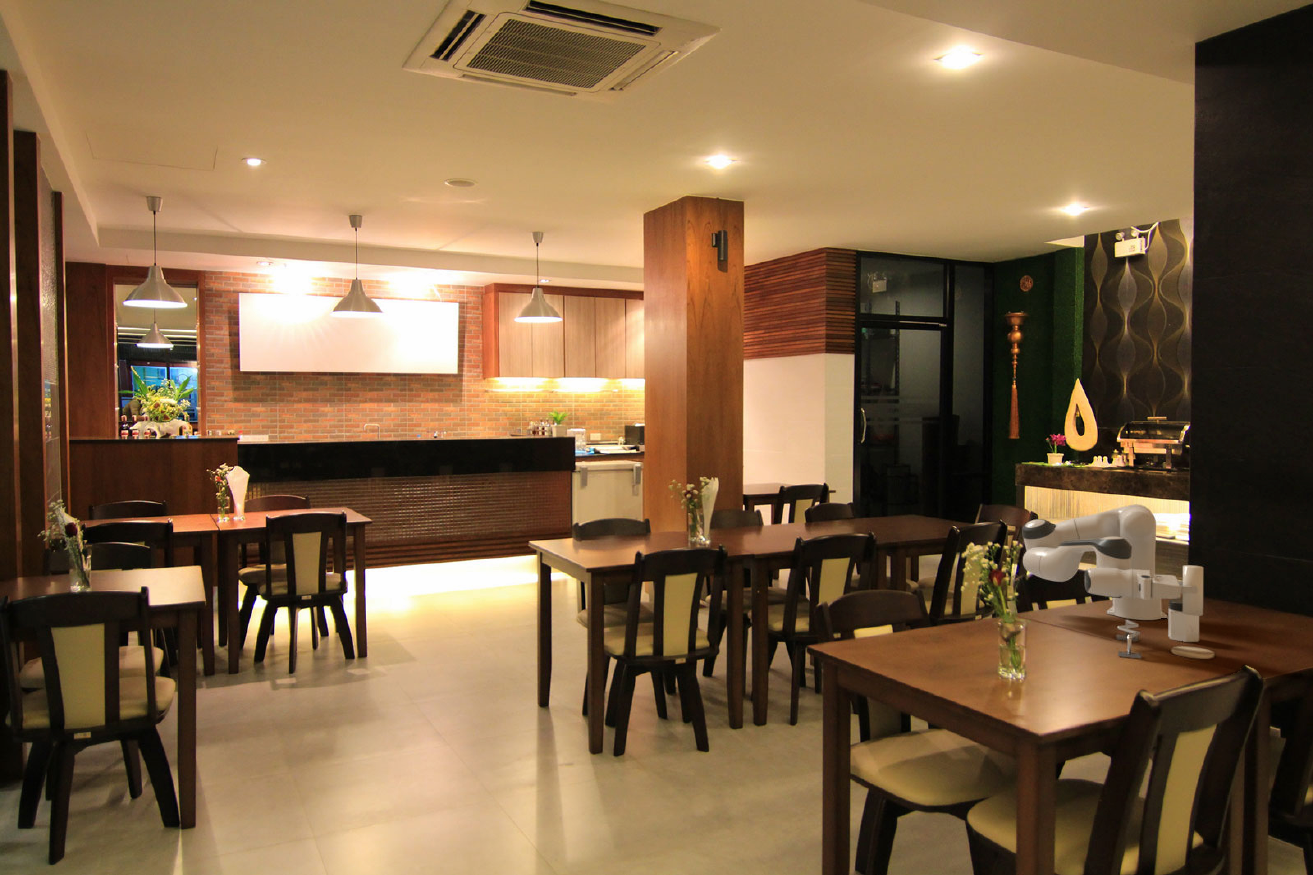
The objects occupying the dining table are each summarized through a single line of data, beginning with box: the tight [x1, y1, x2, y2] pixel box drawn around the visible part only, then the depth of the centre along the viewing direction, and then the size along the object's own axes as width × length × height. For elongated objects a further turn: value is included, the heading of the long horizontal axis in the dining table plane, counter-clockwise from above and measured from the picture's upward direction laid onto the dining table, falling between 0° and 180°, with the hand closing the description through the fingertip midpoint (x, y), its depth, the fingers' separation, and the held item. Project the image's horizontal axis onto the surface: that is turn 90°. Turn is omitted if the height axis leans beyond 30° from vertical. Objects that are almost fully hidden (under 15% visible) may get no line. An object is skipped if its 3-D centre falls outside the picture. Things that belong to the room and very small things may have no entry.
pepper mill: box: [1182, 564, 1204, 617], centre depth 268 cm, size 5×5×14 cm
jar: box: [1167, 598, 1200, 643], centre depth 286 cm, size 9×8×12 cm
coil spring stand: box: [1116, 618, 1142, 660], centre depth 276 cm, size 25×6×6 cm, turn 154°
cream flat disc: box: [1170, 645, 1215, 660], centre depth 269 cm, size 11×11×1 cm
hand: (1196, 587), depth 268 cm, fingers closed on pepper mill, 5 cm apart
